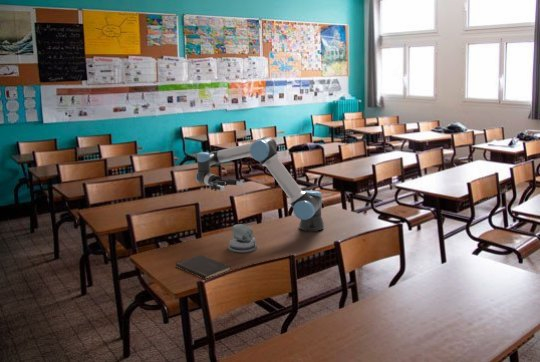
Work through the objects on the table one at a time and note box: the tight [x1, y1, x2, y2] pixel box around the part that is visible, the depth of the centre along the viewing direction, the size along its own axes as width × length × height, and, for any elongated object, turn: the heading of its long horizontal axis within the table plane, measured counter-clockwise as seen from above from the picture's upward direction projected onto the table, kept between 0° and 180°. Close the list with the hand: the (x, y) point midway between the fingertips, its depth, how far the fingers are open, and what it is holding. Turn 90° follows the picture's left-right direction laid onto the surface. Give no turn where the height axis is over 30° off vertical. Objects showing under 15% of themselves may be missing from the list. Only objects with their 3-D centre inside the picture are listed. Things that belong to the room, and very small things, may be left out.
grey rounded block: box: [231, 223, 254, 242], centre depth 282 cm, size 14×10×10 cm
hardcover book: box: [175, 254, 231, 280], centre depth 256 cm, size 16×23×2 cm
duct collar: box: [227, 236, 258, 254], centre depth 283 cm, size 16×16×5 cm
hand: (234, 187), depth 293 cm, fingers open, 13 cm apart
